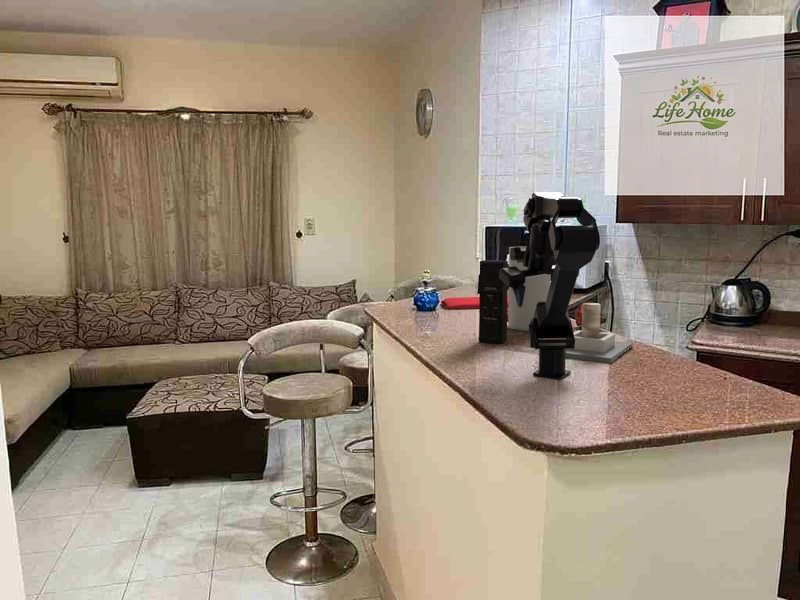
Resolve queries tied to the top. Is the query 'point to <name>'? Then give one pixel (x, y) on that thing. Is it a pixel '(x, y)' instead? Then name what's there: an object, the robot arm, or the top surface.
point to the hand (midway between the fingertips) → (536, 303)
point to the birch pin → (591, 320)
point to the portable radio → (492, 302)
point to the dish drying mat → (464, 303)
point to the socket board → (597, 348)
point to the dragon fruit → (579, 316)
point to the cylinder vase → (526, 298)
